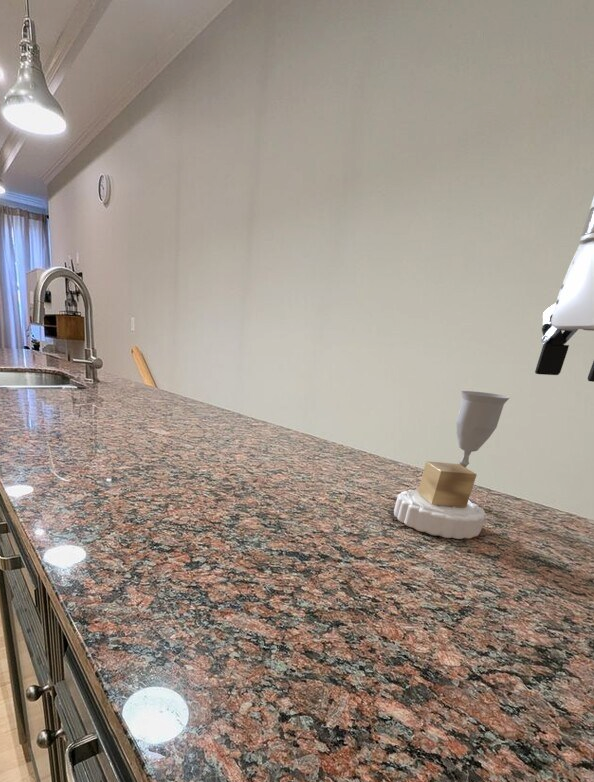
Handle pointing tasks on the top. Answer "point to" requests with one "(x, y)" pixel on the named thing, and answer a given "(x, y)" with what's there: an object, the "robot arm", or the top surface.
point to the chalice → (477, 420)
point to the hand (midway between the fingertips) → (572, 377)
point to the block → (446, 484)
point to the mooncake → (439, 516)
